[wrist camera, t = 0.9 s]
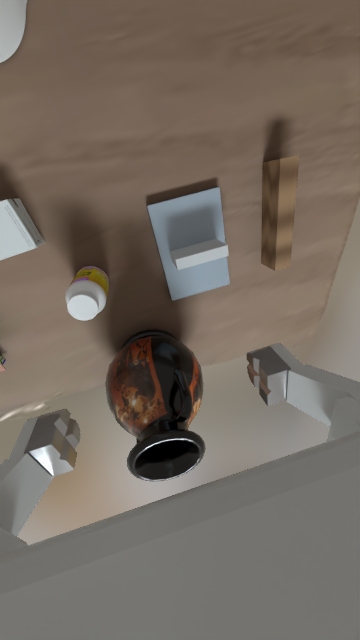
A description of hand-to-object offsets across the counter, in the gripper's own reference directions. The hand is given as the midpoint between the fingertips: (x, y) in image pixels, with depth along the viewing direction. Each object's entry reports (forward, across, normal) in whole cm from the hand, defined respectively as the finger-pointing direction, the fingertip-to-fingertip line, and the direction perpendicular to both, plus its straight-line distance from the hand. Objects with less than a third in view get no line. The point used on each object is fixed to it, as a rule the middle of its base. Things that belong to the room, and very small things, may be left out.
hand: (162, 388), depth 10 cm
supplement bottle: (+41, +11, +6) cm, 43 cm away
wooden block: (+41, -29, +3) cm, 50 cm away
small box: (+41, +20, -6) cm, 46 cm away
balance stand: (+41, -11, +5) cm, 43 cm away
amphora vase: (+41, +5, +29) cm, 51 cm away
